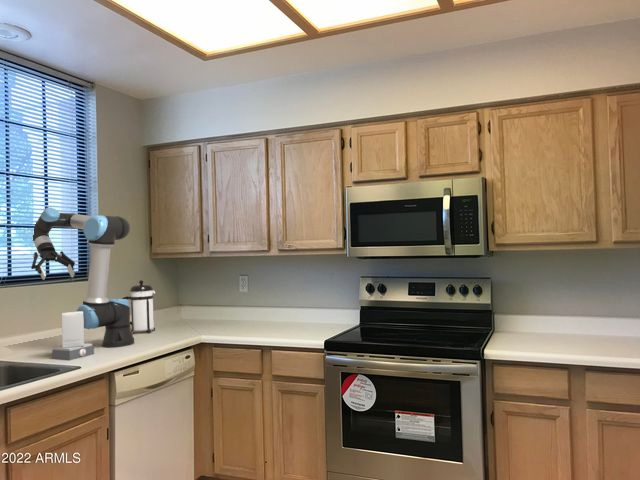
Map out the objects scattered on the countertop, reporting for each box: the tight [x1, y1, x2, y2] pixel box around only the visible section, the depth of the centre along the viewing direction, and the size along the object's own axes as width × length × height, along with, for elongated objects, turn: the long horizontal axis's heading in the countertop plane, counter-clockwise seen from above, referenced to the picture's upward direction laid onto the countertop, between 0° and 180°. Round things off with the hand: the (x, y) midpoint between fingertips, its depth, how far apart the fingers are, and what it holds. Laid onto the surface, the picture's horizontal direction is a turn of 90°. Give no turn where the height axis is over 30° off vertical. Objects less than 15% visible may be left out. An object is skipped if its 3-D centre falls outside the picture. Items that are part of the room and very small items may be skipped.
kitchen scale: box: [51, 342, 95, 361], centre depth 233 cm, size 13×12×5 cm
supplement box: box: [61, 311, 85, 348], centre depth 234 cm, size 9×9×15 cm
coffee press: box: [121, 279, 156, 335], centre depth 295 cm, size 17×16×30 cm
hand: (59, 276), depth 250 cm, fingers open, 13 cm apart
